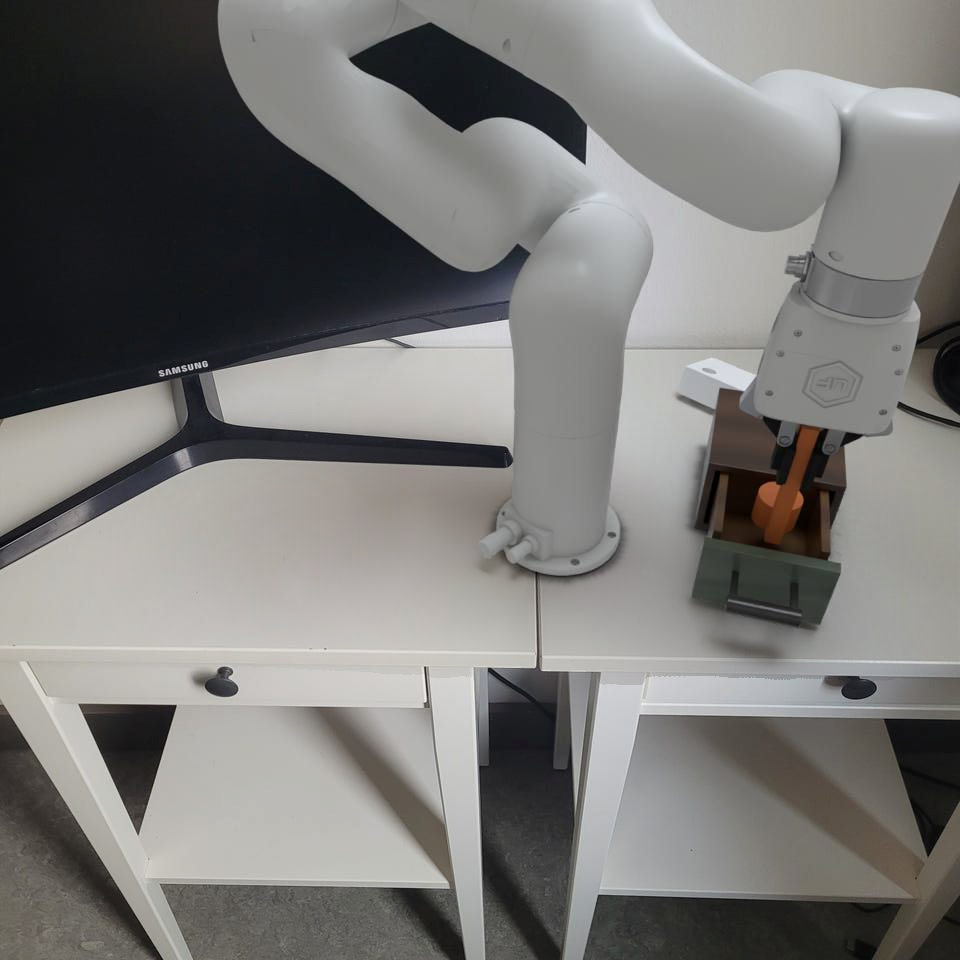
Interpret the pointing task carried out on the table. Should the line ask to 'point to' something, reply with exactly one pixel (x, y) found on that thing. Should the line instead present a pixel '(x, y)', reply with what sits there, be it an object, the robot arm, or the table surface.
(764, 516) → the scoop
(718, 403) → the cabinet
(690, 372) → the bracket
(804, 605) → the drawer
